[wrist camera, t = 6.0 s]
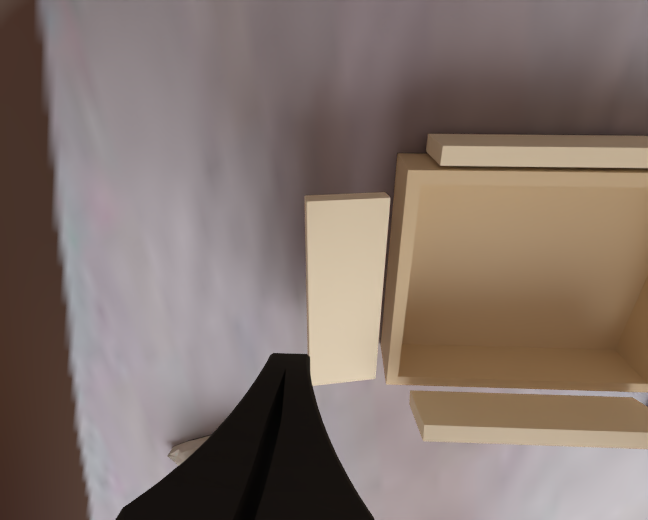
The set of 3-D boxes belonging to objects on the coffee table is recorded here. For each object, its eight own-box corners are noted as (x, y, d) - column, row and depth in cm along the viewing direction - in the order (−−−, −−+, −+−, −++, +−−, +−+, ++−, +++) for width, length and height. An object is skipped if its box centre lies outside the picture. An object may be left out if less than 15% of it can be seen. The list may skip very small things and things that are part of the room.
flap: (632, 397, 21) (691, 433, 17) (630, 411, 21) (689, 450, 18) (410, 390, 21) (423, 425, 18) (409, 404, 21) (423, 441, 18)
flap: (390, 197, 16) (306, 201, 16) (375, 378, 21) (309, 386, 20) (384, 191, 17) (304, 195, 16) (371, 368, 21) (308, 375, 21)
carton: (733, 135, 18) (811, 149, 15) (631, 351, 24) (673, 393, 21) (399, 132, 19) (410, 145, 16) (380, 344, 25) (386, 384, 22)
